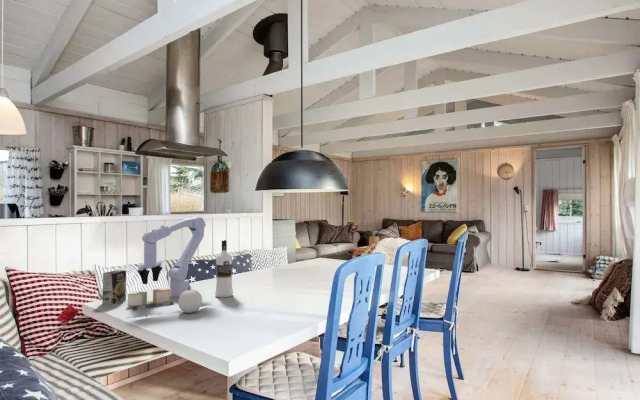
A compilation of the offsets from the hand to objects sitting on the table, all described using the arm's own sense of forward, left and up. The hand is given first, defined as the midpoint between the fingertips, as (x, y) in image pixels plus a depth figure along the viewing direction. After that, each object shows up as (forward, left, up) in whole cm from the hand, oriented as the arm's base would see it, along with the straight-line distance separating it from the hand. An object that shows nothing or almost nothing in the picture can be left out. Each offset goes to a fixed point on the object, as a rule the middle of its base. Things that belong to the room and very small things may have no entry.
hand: (150, 282), depth 193 cm
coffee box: (+15, -7, -10) cm, 19 cm away
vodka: (-35, +10, -10) cm, 38 cm away
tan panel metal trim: (+2, +9, -10) cm, 14 cm away
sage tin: (+7, +8, -9) cm, 14 cm away
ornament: (-10, +31, -10) cm, 34 cm away
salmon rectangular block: (-4, +7, -9) cm, 12 cm away
